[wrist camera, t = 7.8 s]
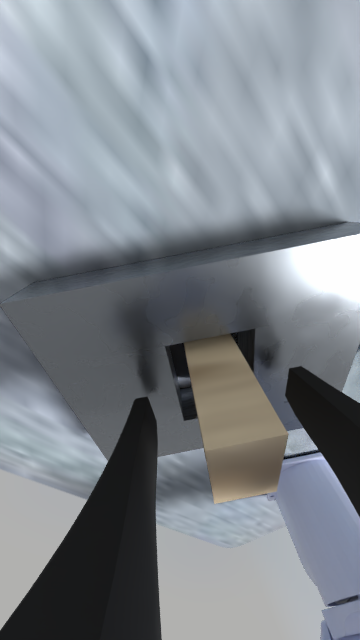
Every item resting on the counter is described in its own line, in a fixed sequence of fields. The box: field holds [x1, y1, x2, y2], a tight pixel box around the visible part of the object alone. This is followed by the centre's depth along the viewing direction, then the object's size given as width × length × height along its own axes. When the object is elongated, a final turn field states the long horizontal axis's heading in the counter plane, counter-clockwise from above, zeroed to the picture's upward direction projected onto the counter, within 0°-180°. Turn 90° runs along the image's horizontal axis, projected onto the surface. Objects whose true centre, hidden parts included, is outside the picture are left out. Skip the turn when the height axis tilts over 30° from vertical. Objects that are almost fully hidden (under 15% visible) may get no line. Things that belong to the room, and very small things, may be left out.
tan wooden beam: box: [184, 334, 288, 504], centre depth 10 cm, size 4×3×7 cm, turn 9°
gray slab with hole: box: [0, 222, 360, 461], centre depth 12 cm, size 13×16×2 cm
